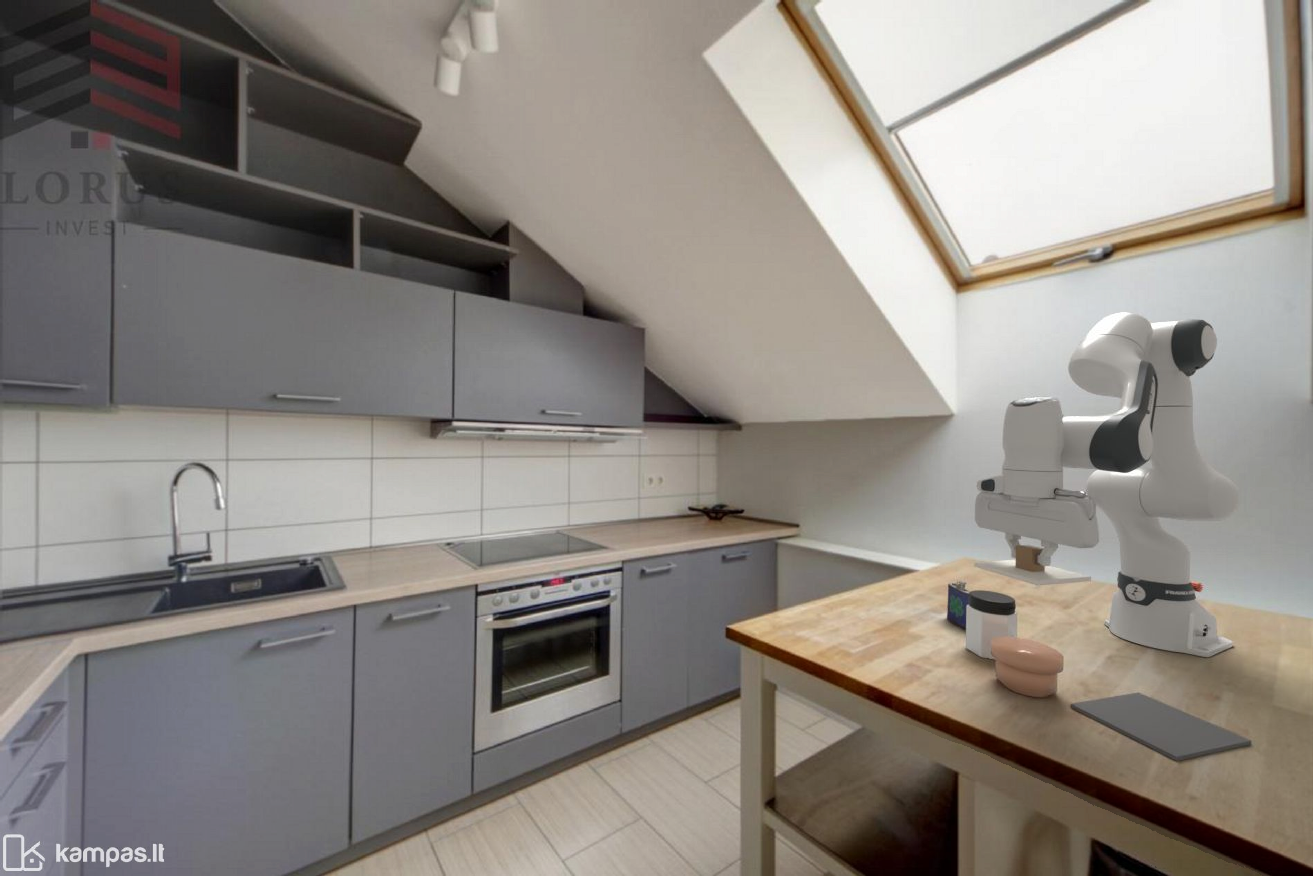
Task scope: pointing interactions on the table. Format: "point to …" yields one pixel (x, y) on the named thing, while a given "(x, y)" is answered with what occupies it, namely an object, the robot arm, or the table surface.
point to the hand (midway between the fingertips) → (1030, 562)
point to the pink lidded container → (1026, 666)
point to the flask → (957, 603)
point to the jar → (989, 620)
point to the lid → (1031, 569)
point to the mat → (1160, 726)
